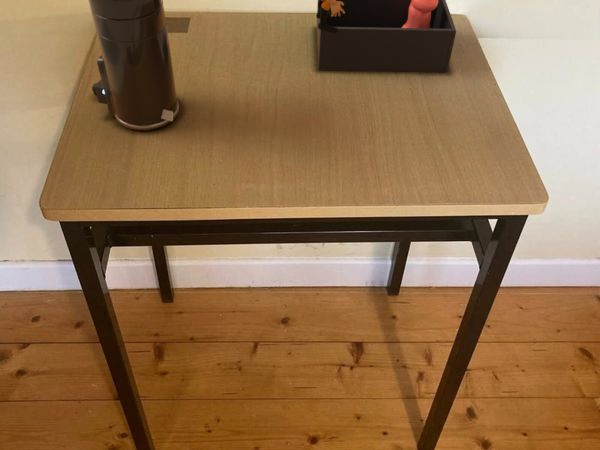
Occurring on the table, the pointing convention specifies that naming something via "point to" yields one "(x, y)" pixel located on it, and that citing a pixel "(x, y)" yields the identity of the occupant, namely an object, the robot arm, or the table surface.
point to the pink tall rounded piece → (420, 13)
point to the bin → (385, 38)
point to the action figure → (328, 13)
